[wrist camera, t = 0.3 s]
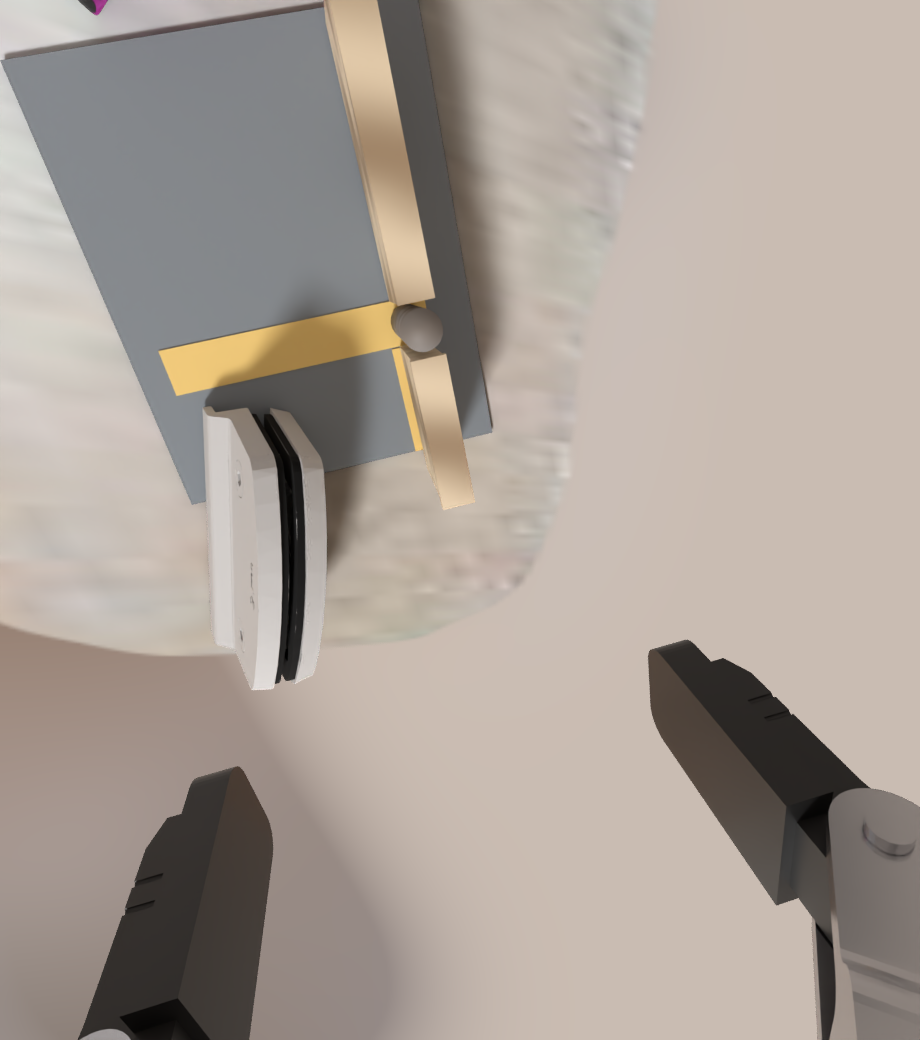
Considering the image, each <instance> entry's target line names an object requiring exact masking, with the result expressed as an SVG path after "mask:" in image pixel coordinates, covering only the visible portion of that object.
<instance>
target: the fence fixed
mask: <svg viewBox="0 0 920 1040" xmlns="http://www.w3.org/2000/svg"><path fill="white" fill-rule="evenodd" d="M391 326H392V329H393V331H394V332H395V333H396V334H397V335H398V336H399V337H400V338H401V339H402V340H403V341H404V342H405V343H406V344H407V345H404V346H400V351H401V355H402V359H403V364H404V368H405V372H406V377H407V381H408V386H409V390H410V394H411V399H412V403H413V407H414V412H415V416H416V421H417V425H418V429H419V434H420V438H421V442H422V447H423V451H424V456H425V460H426V464H427V468H428V471H429V473H430V475H431V478H432V480H433V483H434V485H435V487H436V490H437V492H438V494H439V497H440V501H441V505H442V508H443V510H446V509H450V508H454V507H458V506H462V505H466V504H470V503H474V502H475V499H474V494H473V489H472V484H471V478H470V473H469V468H468V463H467V458H466V453H465V448H464V443H463V437H462V432H461V427H460V422H459V417H458V412H457V407H456V402H455V397H454V391H453V386H452V381H451V376H450V371H449V366H448V361H447V356H446V354H445V353H441V352H440V351H439V350H437V349H436V348H435V347H436V346H437V345H438V344H439V343H440V341H441V338H442V335H443V326H442V322H441V320H440V318H439V317H438V316H437V314H436V313H434V312H433V311H431V310H429V309H426V308H422V307H419V306H415V305H412V304H405V305H400V306H398V307H397V308H396V309H395V310H394V311H393V313H392V315H391Z"/></svg>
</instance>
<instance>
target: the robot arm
mask: <svg viewBox="0 0 920 1040" xmlns="http://www.w3.org/2000/svg"><path fill="white" fill-rule="evenodd" d="M648 663H649V682H650V703H651V711H652V716H653V719H654V722H655V724H656V727H657V729H658V731H659V733H660V735H661V737H662V739H663V740H664V742H665V743H666V745H667V746H668V748H669V749H670V750H671V752H672V754H673V755H674V756H675V758H676V759H677V761H678V762H679V764H680V765H681V767H682V768H683V769H684V771H685V773H686V774H687V775H688V777H689V778H690V780H691V781H692V783H693V784H694V786H695V787H696V789H697V790H698V792H699V793H700V795H701V796H702V797H703V799H704V800H705V802H706V803H707V805H708V806H709V808H710V809H711V810H712V812H713V813H714V815H715V816H716V818H717V819H718V821H719V822H720V824H721V825H722V827H723V828H724V829H725V831H726V833H727V834H728V835H729V837H730V838H731V840H732V841H733V843H734V844H735V846H736V847H737V849H738V850H739V852H740V853H741V855H742V856H743V857H744V859H745V860H746V862H747V863H748V865H749V866H750V868H751V869H752V870H753V872H754V874H755V875H756V876H757V878H758V879H759V881H760V882H761V884H762V885H763V887H764V888H765V890H766V891H767V892H768V894H769V895H770V897H771V898H772V900H773V901H774V903H775V904H776V905H779V904H782V903H785V902H788V901H791V900H794V899H797V898H799V899H800V901H801V902H802V903H803V905H804V906H805V907H806V909H807V910H808V912H809V913H810V914H811V916H812V942H813V961H814V980H815V1000H816V1018H817V1039H818V1040H920V807H919V806H917V805H916V804H914V803H912V802H911V801H908V800H907V799H905V798H903V797H900V796H898V795H895V794H893V793H889V792H886V791H882V790H877V789H871V788H870V787H868V786H867V785H866V784H865V783H863V782H862V781H861V780H860V779H859V778H858V777H857V776H856V775H855V774H854V773H853V772H852V771H851V770H850V769H849V768H848V767H847V766H846V765H845V764H844V763H843V762H842V761H841V760H840V759H839V758H838V757H837V756H836V755H835V754H834V753H833V752H832V751H830V750H829V749H828V748H827V747H826V746H825V745H824V744H823V743H822V742H821V741H820V740H819V739H818V738H817V737H816V736H815V735H814V734H813V733H812V732H811V731H810V730H809V729H808V728H807V727H806V726H805V725H804V724H803V723H802V722H801V721H800V720H799V719H798V718H797V717H796V716H795V715H794V714H792V715H791V714H790V712H789V710H788V709H787V707H785V705H784V704H782V703H781V702H780V701H779V700H778V699H777V698H776V697H773V696H772V693H771V692H770V691H769V690H768V689H767V688H766V687H765V686H764V685H763V684H762V683H761V682H760V681H759V680H758V679H757V678H756V677H755V676H754V675H753V674H752V673H751V672H749V671H747V670H745V669H743V668H741V667H739V666H737V665H735V664H734V663H732V662H730V661H728V660H726V659H724V658H722V659H719V660H715V661H712V662H711V661H710V660H709V659H708V658H707V657H706V656H705V655H704V654H703V653H702V652H701V651H700V650H699V649H698V648H697V647H696V645H695V644H693V643H692V642H691V641H689V640H683V641H680V642H676V643H673V644H669V645H666V646H662V647H659V648H655V649H652V650H650V651H649V655H648ZM272 857H273V839H272V831H271V827H270V823H269V820H268V818H267V816H266V814H265V812H264V810H263V808H262V806H261V804H260V802H259V800H258V798H257V796H256V794H255V792H254V790H253V789H252V787H251V785H250V783H249V781H248V779H247V777H246V775H245V773H244V771H243V770H242V769H241V768H240V767H238V766H237V767H233V768H230V769H226V770H223V771H219V772H216V773H212V774H209V775H205V776H202V777H198V778H196V779H194V781H193V782H192V784H191V786H190V788H189V792H188V795H187V798H186V801H185V805H184V808H183V811H182V814H180V815H176V816H173V817H169V818H167V820H166V821H165V822H164V824H163V825H162V827H161V828H160V829H159V831H158V832H157V834H156V835H155V837H154V838H153V840H152V841H151V842H150V844H149V845H148V847H147V848H146V850H145V853H144V856H143V858H142V861H141V864H140V867H139V870H138V873H137V876H136V878H135V887H134V888H132V890H131V893H130V895H129V899H128V901H127V904H126V907H125V915H124V916H122V918H121V921H120V924H119V927H118V930H117V932H116V935H115V938H114V941H113V944H112V947H111V949H110V952H109V955H108V958H107V961H106V964H105V966H104V970H103V972H102V975H101V978H100V981H99V984H98V987H97V990H96V992H95V995H94V998H93V1001H92V1003H91V1006H90V1009H89V1012H88V1015H87V1018H86V1020H85V1023H84V1026H83V1029H82V1031H81V1033H80V1036H79V1038H78V1040H249V1036H250V1028H251V1021H252V1013H253V1005H254V997H255V989H256V982H257V974H258V966H259V957H260V951H261V943H262V935H263V927H264V919H265V912H266V904H267V896H268V888H269V880H270V873H271V864H272Z"/></svg>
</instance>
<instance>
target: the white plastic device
mask: <svg viewBox="0 0 920 1040" xmlns="http://www.w3.org/2000/svg"><path fill="white" fill-rule="evenodd" d="M202 408H203V434H204V460H205V485H206V511H207V537H208V563H209V588H210V614H211V632H212V635H213V639H214V642H215V644H216V645H219V646H223V647H227V648H231V649H234V650H235V652H236V654H237V656H238V659H239V661H240V664H241V666H242V669H243V671H244V674H245V676H246V678H247V681H248V683H249V686H250V688H251V690H263V689H273V688H274V685H275V684H276V683H279V682H280V680H281V675H283V677H284V679H285V680H286V681H289V680H291V681H292V683H294V684H295V683H297V682H299V681H302V680H304V679H305V678H308V677H310V676H312V675H313V674H314V671H315V667H316V664H317V659H318V654H319V649H320V643H321V636H322V629H323V621H324V609H325V596H326V575H327V523H326V500H325V483H324V469H323V464H322V460H321V457H320V456H319V454H318V453H317V451H316V450H315V448H314V447H313V445H312V444H311V442H310V441H309V440H308V438H307V437H306V435H305V434H304V432H303V431H302V429H301V428H300V426H299V425H298V424H297V422H296V421H295V419H294V418H293V416H292V415H291V413H290V412H286V411H282V410H277V409H273V408H270V414H264V427H263V425H262V423H261V422H260V420H259V418H258V416H257V415H256V414H251V413H250V411H249V409H248V408H241V409H235V410H228V411H222V412H215V411H214V410H213V408H212V407H211V406H208V407H202Z"/></svg>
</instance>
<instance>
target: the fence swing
mask: <svg viewBox="0 0 920 1040" xmlns="http://www.w3.org/2000/svg"><path fill="white" fill-rule="evenodd" d="M324 10H325V21H326V27H327V31H328V36H329V40H330V44H331V49H332V53H333V58H334V62H335V66H336V71H337V75H338V79H339V84H340V88H341V93H342V97H343V101H344V106H345V110H346V114H347V119H348V123H349V128H350V132H351V136H352V141H353V145H354V149H355V154H356V158H357V162H358V167H359V171H360V176H361V180H362V184H363V189H364V193H365V197H366V202H367V206H368V211H369V215H370V219H371V224H372V228H373V232H374V237H375V241H376V246H377V250H378V254H379V259H380V263H381V267H382V272H383V276H384V281H385V285H386V289H387V294H388V298H389V302H392V303H394V304H397V306H400V305H405V304H409V303H414V302H419V301H423V300H428V299H432V298H435V294H434V289H433V284H432V279H431V274H430V269H429V263H428V258H427V253H426V248H425V243H424V238H423V233H422V228H421V223H420V217H419V212H418V207H417V202H416V197H415V192H414V187H413V182H412V176H411V171H410V166H409V161H408V156H407V151H406V146H405V141H404V136H403V130H402V125H401V120H400V115H399V110H398V105H397V100H396V95H395V89H394V84H393V79H392V74H391V69H390V64H389V59H388V54H387V49H386V43H385V38H384V33H383V28H382V23H381V18H380V13H379V8H378V2H377V0H324Z"/></svg>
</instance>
